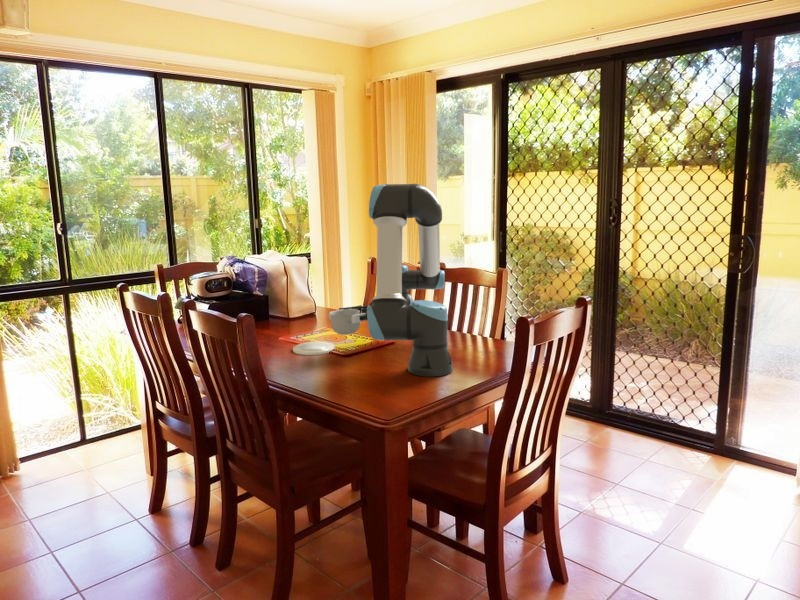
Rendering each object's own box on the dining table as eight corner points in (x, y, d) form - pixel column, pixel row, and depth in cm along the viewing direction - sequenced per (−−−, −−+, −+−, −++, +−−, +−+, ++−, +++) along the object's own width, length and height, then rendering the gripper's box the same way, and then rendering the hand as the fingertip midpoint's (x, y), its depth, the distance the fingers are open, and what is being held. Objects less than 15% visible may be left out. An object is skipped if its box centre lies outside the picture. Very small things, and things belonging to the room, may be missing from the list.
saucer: (341, 351, 225) (341, 348, 225) (301, 357, 218) (301, 354, 218) (325, 342, 239) (325, 339, 239) (287, 347, 232) (287, 344, 231)
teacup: (352, 337, 209) (351, 314, 207) (325, 335, 213) (324, 313, 211) (369, 329, 221) (368, 307, 220) (343, 327, 225) (342, 306, 224)
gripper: (405, 321, 222) (364, 332, 206) (361, 314, 237) (319, 323, 221) (405, 301, 221) (363, 311, 205) (360, 295, 236) (318, 304, 220)
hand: (340, 317), depth 213 cm, fingers closed on teacup, 11 cm apart
